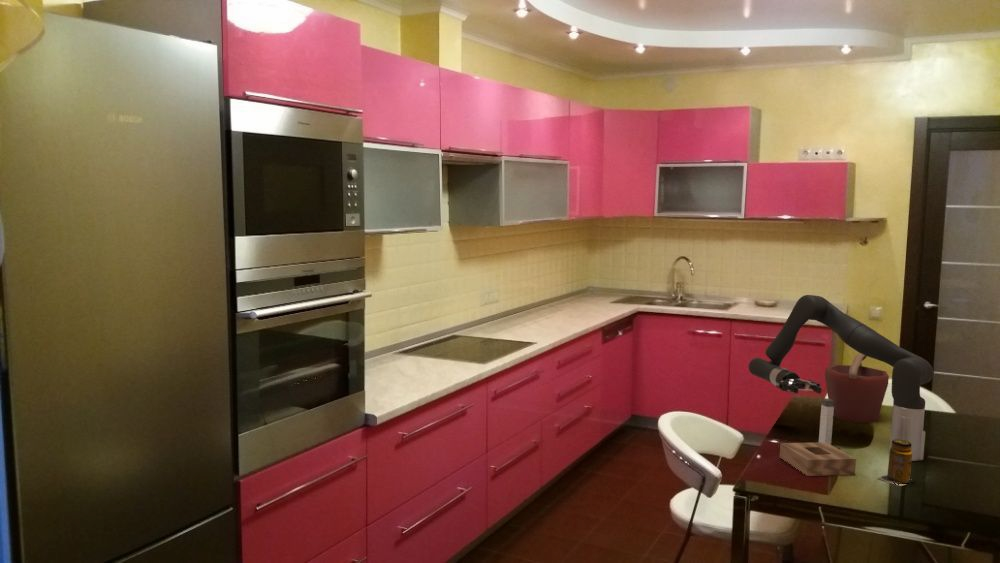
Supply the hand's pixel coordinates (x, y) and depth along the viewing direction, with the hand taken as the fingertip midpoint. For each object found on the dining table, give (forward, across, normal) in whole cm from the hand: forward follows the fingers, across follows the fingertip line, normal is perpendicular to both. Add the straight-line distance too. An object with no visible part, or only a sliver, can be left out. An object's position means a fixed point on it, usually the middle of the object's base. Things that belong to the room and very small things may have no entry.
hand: (808, 390), depth 259 cm
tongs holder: (+24, -10, +18) cm, 32 cm away
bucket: (-29, +39, +19) cm, 52 cm away
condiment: (+37, +8, +18) cm, 42 cm away
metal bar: (+12, 0, +18) cm, 21 cm away
